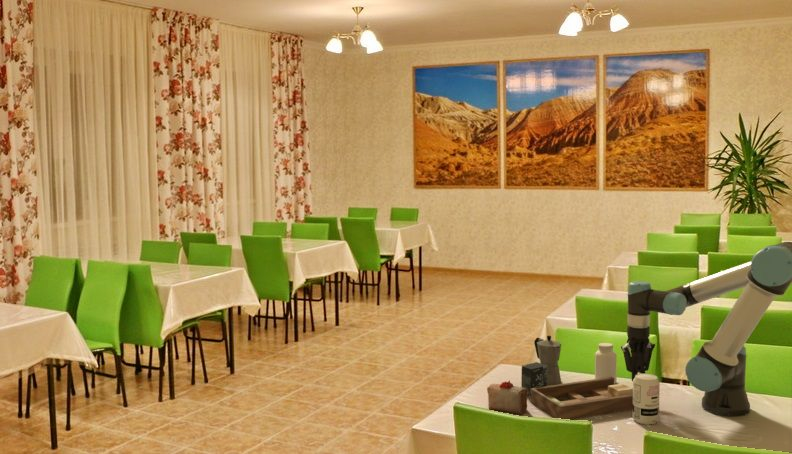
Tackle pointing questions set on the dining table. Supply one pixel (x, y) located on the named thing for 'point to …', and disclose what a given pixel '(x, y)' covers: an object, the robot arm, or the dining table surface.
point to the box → (534, 376)
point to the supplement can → (646, 398)
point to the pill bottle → (605, 362)
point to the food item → (507, 397)
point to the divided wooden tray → (580, 399)
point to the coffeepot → (549, 358)
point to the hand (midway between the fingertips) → (637, 390)
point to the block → (619, 390)
